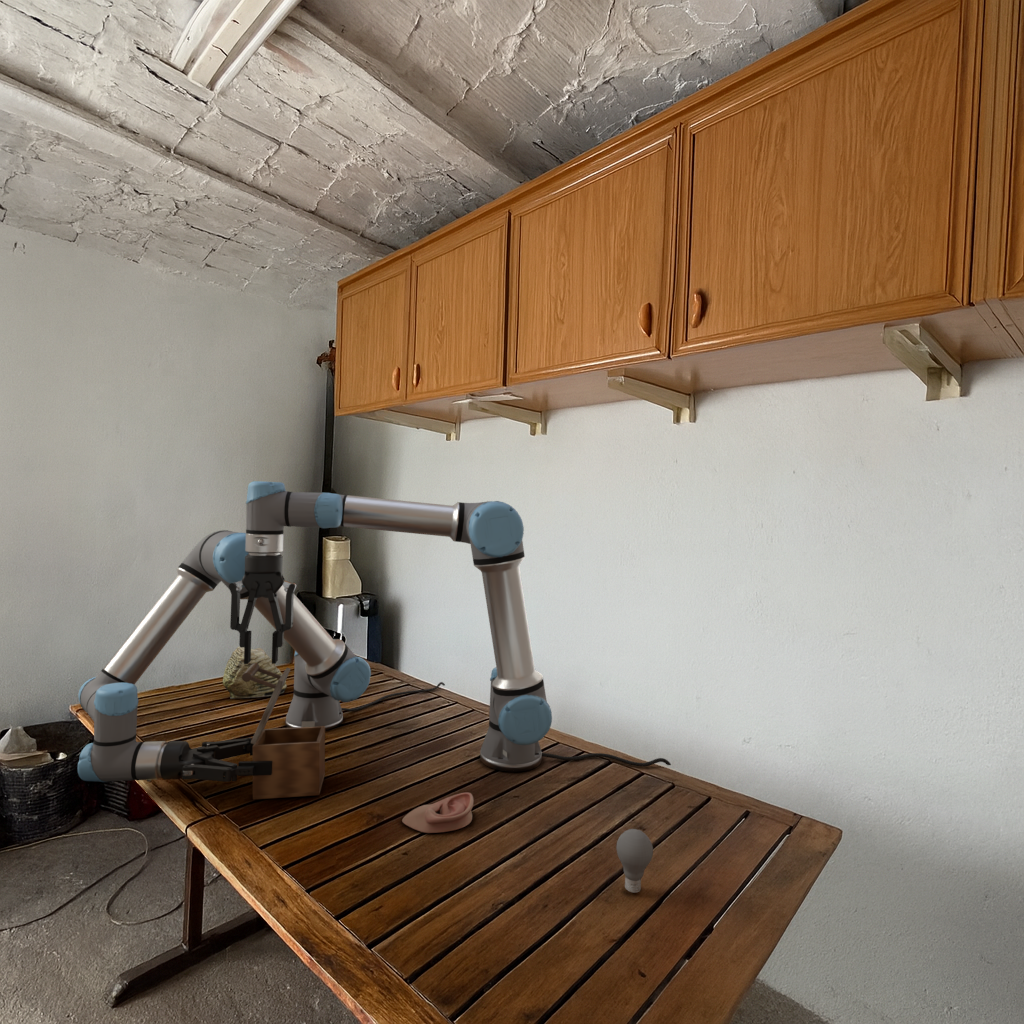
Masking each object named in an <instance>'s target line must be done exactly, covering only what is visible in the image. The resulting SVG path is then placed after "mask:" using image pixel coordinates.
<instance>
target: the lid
mask: <svg viewBox="0 0 1024 1024" xmlns="http://www.w3.org/2000/svg"><path fill="white" fill-rule="evenodd" d="M257 671H258V672H261V673H264V674H266V675H269V676H272V677H275V678H277V679H279V680H278V683H277V685H275V684H272V683H270V682H267V681H264V680H261V679H259V678H256V677H253V676H254V675H255V674H256V673H257ZM290 672H291V668H289V667H286V668H285V670H284V671H283V672H282V676H281V675H278V674H276V673H273V672H270V671H267V670H265V669H262V668H260V666H259V664H257V663H253V664H252V665H251V666H250V667H249V668H248V669H247V671H246V672H245V673H244V674H243V675H242V680H243V681H245V682H248V681H250V680H251V681H254V682H257V683H260V684H262V685H265V686H268V687H271V688H273V689H274V692H273V694H272V696H270V699H269V701H268V702H267V706H266V707H265V709H264V711H263V714H262V717H261V719H260V721H259V723H258V725H257V728H256V730H255V733H253V736H252V740H251V743H252V744H255V743H256V741H257V740H258V738H259V736H260V735H261V733H262V731H263V730H264V729H266V726H267V723H268V721H269V719H270V717H271V715H272V712H273V710H274V707H275V705H276V703H277V701H278V699H279V696H280V695H281V693H280V692H281V690H282V688H283V685H284V683H285V681H286V682H287V678H288V676H289V674H290Z"/></svg>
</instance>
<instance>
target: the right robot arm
mask: <svg viewBox="0 0 1024 1024" xmlns="http://www.w3.org/2000/svg"><path fill="white" fill-rule="evenodd" d="M245 506H246V507H245V508H246V509H245V510H246V511H245V512H246V514H245V515H246V516H245V522H246V523H245V528H246V529H245V533H246V543H245V551H246V552H248V555H246V556H245V574H244V577H243V578H242V580H241V581H238V582H233V583H231V584H229V589H230V590H229V589H228V590H229V592H230V596H231V598H230V620H229V621H230V625H229V626H230V627H229V628H230V629H231V630H232V631H237V632H238V633H239V643H238V644H239V647H244V664H248V663H249V662H250V661H251V649H252V630H249V626H250V624H251V623H250V622H251V619H252V616H253V613H254V609H255V603H256V600H257V598H259V597H265V598H268V600H269V603H270V606H271V610H272V615H273V619H274V623H275V627H276V629H275V630H274V631H273V632H272V636H271V637H272V639H271V640H272V641H271V642H272V643H271V659H272V664H275V665H276V664H277V663H278V661H279V648H282V647H283V645H284V640H285V639H284V631H286V630H289V629H291V627H292V626H293V599H294V594H295V591H296V588H297V583H296V582H291V581H288V580H286V579H285V576H284V574H283V561H284V560H283V559H284V557H283V555H282V554H281V553H283V552H284V528H285V527H290V528H291V527H294V528H295V527H297V528H319V529H320V528H321V529H329V528H331V529H332V528H333V529H334V528H335V529H336V528H339V527H340V528H341V527H344V528H353V529H354V528H355V529H364V530H373V531H374V530H376V531H385V532H394V533H407V534H417V535H426V536H437V537H446V538H450V540H452V542H457V543H464V544H469V545H470V551H471V556H472V557H471V558H472V563H473V566H474V567H475V568H476V569H478V570H479V571H480V572H481V577H482V582H483V583H482V584H483V589H484V596H485V602H486V609H487V610H486V611H487V615H488V621H489V623H488V624H489V629H490V636H491V642H492V648H493V655H494V660H495V667H494V668H492V670H491V672H490V673H491V674H490V678H489V681H490V689H489V690H490V693H489V712H488V713H489V714H488V717H489V718H488V728H487V731H486V733H485V736H484V740H483V742H482V745H481V747H480V751H479V752H480V753H479V760H480V761H481V763H482V764H483V765H484V766H486V767H488V768H490V769H493V770H496V771H501V772H510V773H518V772H526V771H531V770H533V769H535V768H537V767H539V766H540V765H541V763H542V759H543V758H542V757H544V758H549V759H554V760H555V759H556V760H560V761H571V762H572V761H578V760H579V761H581V760H584V759H589V758H606V759H610V760H614V761H617V762H620V763H623V764H626V765H629V766H634V767H641V768H643V767H644V768H645V767H650V766H652V765H655V764H657V763H664V764H665V765H667V766H671V765H672V764H671V762H670V761H669V760H668V759H666V758H663V757H658V758H654V759H652V760H649V761H646V762H636V761H633V760H628V759H625V758H623V757H620V756H616V755H613V754H609V753H601V752H591V753H586V754H582V755H576V756H563V755H557V754H552V753H547V752H542V748H541V745H540V741H541V740H543V738H545V736H547V734H548V732H549V731H550V729H551V726H552V722H553V715H552V712H553V711H552V708H551V706H550V705H549V703H548V700H547V695H546V689H545V682H544V676H543V674H542V673H541V672H539V671H538V669H536V667H535V660H534V654H533V648H532V647H533V646H532V642H531V641H532V640H531V634H530V626H529V621H528V615H527V608H526V602H525V601H526V600H525V595H524V587H523V582H522V573H521V568H520V567H521V565H522V562H523V561H524V560H525V559H526V556H525V549H524V541H523V538H524V535H525V534H524V531H525V526H524V522H523V519H522V517H521V515H520V514H519V512H518V511H517V510H516V508H514V507H513V506H512V505H510V504H508V503H506V502H504V501H499V500H489V501H488V500H487V501H481V502H459V501H457V502H455V504H453V505H448V504H438V503H429V502H421V501H420V502H418V501H411V500H409V501H408V500H400V499H399V500H398V499H390V498H389V499H388V498H379V497H370V496H358V495H349V494H348V495H347V494H339V493H331V492H322V491H321V492H314V491H313V492H310V491H309V492H307V491H288V490H287V489H286V484H285V483H284V482H281V481H262V480H261V481H260V480H259V481H258V480H253V481H251V482H249V483H248V486H247V495H246V501H245ZM243 585H244V586H245V588H246V589H247V591H248V592H249V593H250V594H249V597H248V599H247V602H246V605H245V609H244V613H243V616H242V619H241V622H240V617H241V615H240V614H241V613H240V611H241V599H240V591H241V590H242V586H243ZM282 585H283V586H284V591H285V592H287V593H286V612H285V624H283V620H282V616H281V612H280V607H279V603H278V597H277V591H278V590H279V589H280V588H281V586H282Z"/></svg>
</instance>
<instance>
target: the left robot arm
mask: <svg viewBox="0 0 1024 1024" xmlns="http://www.w3.org/2000/svg"><path fill="white" fill-rule="evenodd" d="M245 543H246V532H240V531H239V532H238V531H232V530H229V529H228V530H227V529H224V530H223V529H222V530H221V529H220V530H216V531H213V532H211V533H208V534H207V535H205V536H204V537H203V538H201V540H200V541H198V542H197V544H196V545H195V546H194V547H193V549H191V550H190V552H189V553H188V554H187V556H186V557H185V558H184V560H182V561H181V563H180V564H179V565H178V567H177V568H176V571H177V572H176V573H177V574H176V577H174V579H173V580H172V581H171V583H170V584H169V585H168V587H167V588H165V590H164V591H163V593H162V594H161V595H160V596H159V598H158V599H157V601H155V603H154V604H153V605H152V607H151V608H150V609H149V610H148V612H147V613H146V615H144V616H143V618H142V619H141V621H140V622H139V623H138V624H137V625H136V627H134V629H133V630H132V632H131V633H130V634H129V636H128V637H127V638H126V639H125V640H124V642H123V643H122V644H121V645H120V647H119V648H118V649H117V651H116V652H115V653H114V655H113V656H111V658H110V659H109V661H107V662H106V664H105V665H104V666H103V668H102V669H101V670H100V671H99V672H98V674H97V675H96V676H93V677H91V678H89V679H87V680H86V681H84V683H83V684H82V685H81V686H80V687H79V690H78V695H77V697H78V702H79V704H80V705H79V706H80V707H81V708H82V710H83V711H84V712H85V713H87V714H88V717H90V718H91V720H92V721H93V742H91V743H87V744H86V745H85V746H83V749H81V752H80V753H79V757H78V759H79V760H78V762H77V773H78V774H77V775H78V777H79V778H80V780H82V781H84V782H101V783H108V782H127V781H146V782H148V783H151V782H152V781H158V780H161V779H163V780H164V781H167V780H168V781H169V780H172V781H173V780H202V781H213V782H223V783H225V782H226V783H230V782H237V781H238V777H253V776H258V775H271V774H272V761H253V760H246V761H244V760H243V761H241V760H240V761H238V763H236V762H235V763H234V762H230V761H225V760H224V759H230V758H234V757H239V756H244V755H248V754H249V757H250V756H251V757H253V745H254V744H252V743H251V741H252V739H253V737H245V738H237V739H236V738H235V739H227V740H218V741H203V742H201V746H199V747H195V748H192V747H190V743H189V742H188V741H187V740H170V741H169V742H167V741H166V740H159V741H157V740H156V741H154V740H153V741H137V727H138V706H139V696H138V687H137V685H136V684H137V682H138V681H139V680H140V678H141V677H142V675H143V674H144V673H145V672H146V670H147V669H148V668H149V667H150V665H151V664H152V663H153V662H154V660H155V659H156V658H157V657H158V655H159V654H160V653H161V652H162V650H163V649H164V647H165V646H166V645H167V644H168V642H169V641H170V640H171V638H172V637H173V636H174V634H175V633H176V632H177V631H178V629H180V627H181V625H182V624H183V623H184V622H185V620H186V619H187V618H188V617H189V615H190V614H191V613H192V611H194V609H195V608H196V606H197V605H198V604H199V603H200V601H201V600H202V598H203V597H204V596H205V595H206V593H209V592H213V591H214V590H215V589H216V588H217V586H218V585H219V584H220V583H223V585H224V586H225V587H226V588H227V589H228V590H229V591H230V589H229V584H231V583H233V582H238V581H241V580H242V578H243V577H244V574H245V556H246V555H248V552H246V551H245ZM286 593H287V592H285V591H284V586H283V585H282V586H281V588H280V589H279V590H278V591H277V597H278V603H279V607H280V612H281V616H282V620H283V624H285V612H286ZM249 594H250V593H249V592H248V591H247V589H246V588H245V586H244V585H243V586H242V590H241V591H240V600H248V597H249ZM254 608H255V609H256V610H257V611H258V612H259V613H260V614H261V615H262V616H263V618H265V620H266V621H267V622H268V623H269V624H270V625H271V627H273V628H274V629H275V630H276V627H275V623H274V619H273V615H272V610H271V606H270V603H269V600H268V598H265V597H259V598H257V600H256V603H255V606H254ZM283 640H285V642H287V644H288V645H289V646H290V647H291V648H292V649H293V650H294V655H293V657H294V672H293V695H292V696H293V697H292V699H291V702H290V704H289V708H288V711H287V713H286V715H285V726H286V728H296V727H316V726H325V731H329V730H332V729H335V728H337V727H339V726H340V725H342V723H343V722H344V714H343V712H356V711H360V710H362V709H366V708H367V707H370V706H372V705H375V704H378V702H381V701H383V700H385V699H387V698H391V697H395V696H400V695H408V694H409V695H410V694H415V693H416V694H417V693H426V692H432V691H435V690H437V689H439V687H440V686H441V685H442V686H446V684H445V682H443V681H440V682H439V683H438V684H437V685H436V686H435V687H432V688H427V689H426V688H424V689H414V690H406V691H400V692H395V693H390V694H386V695H383V696H382V697H379V698H378V699H376V700H374V701H371V702H368V703H366V704H364V705H361V706H358V707H353V708H347V707H342V706H341V702H343V703H350V702H353V701H355V700H357V699H359V698H360V697H361V696H362V695H363V694H364V693H365V692H366V690H367V689H368V687H369V685H370V682H371V676H372V670H371V666H370V664H369V662H367V661H366V660H365V658H362V657H360V656H357V655H356V654H355V653H354V652H353V651H352V650H351V648H350V647H349V646H348V645H347V644H346V643H345V642H344V641H343V640H342V639H339V638H333V637H332V636H331V635H330V633H329V632H328V631H327V630H326V629H325V628H324V627H323V626H322V624H320V622H319V621H318V620H317V619H316V618H315V616H314V615H313V614H312V613H311V611H309V609H308V608H307V607H306V606H305V605H304V603H302V601H301V600H300V599H299V598H298V597H297V596H296V594H295V593H294V599H293V626H292V627H291V629H289V630H286V631H284V639H283Z"/></svg>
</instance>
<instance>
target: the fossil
mask: <svg viewBox="0 0 1024 1024" xmlns="http://www.w3.org/2000/svg"><path fill="white" fill-rule="evenodd" d="M253 663H257V664H259V666H260V668H262V669H265V670H267V671H270V672H273V673H276V674H278V675H281V676H282V674H283V672H281V669H279V668H278V667H277V665H276V664H272V657H270V656H269V655H268V654H267V653H266V652H265V650H264V649H263V648H260V647H258V648H251V661H250V662H249V663H248V664H244V647H240V646H238V647H237V648H236V649H235V650H233V651H232V653H231V656H230V657H229V659H228V660H227V663H226V666H225V668H224V671H223V675H222V676H223V677H222V685H223V687H224V688H225V690H226V691H228V693H229V698H230V699H250V698H264V697H271V696H272V694H273V692H274V689H273V688H271V687H268V686H265V685H262V684H260V683H257V682H254V681H251V680H250V681H248V682H245V681H243V680H242V675H243V674H244V673H245V672H246V671H247V669H248V668H249V667H250V666H251V665H252V664H253ZM253 677H256V678H259V679H261V680H264V681H267V682H270V683H272V684H275V685H277V683H278V680H279V679H277V678H275V677H272V676H269V675H266V674H264V673H261V672H258V671H257V673H256V674H255V675H254V676H253ZM287 687H288V686H287V680H286V681H285V683H284V685H283V688H282V690H281V692H280V694H284V693H285V691H286V689H287Z"/></svg>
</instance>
